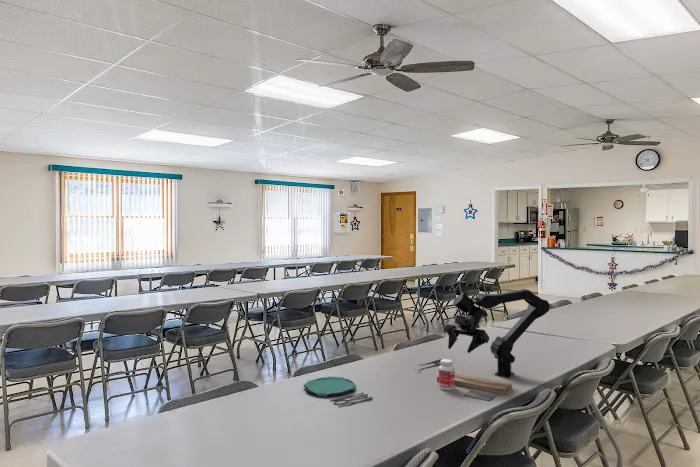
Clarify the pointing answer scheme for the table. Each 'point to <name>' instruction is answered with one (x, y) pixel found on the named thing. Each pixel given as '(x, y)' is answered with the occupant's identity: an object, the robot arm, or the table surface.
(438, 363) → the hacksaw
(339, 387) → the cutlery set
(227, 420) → the table surface
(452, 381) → the pill bottle
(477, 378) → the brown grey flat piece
